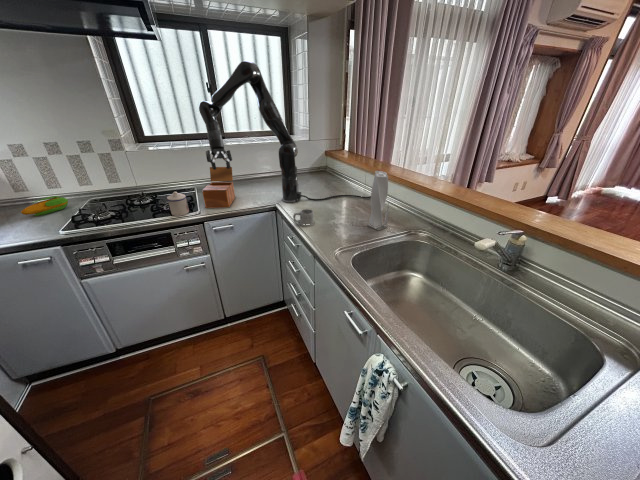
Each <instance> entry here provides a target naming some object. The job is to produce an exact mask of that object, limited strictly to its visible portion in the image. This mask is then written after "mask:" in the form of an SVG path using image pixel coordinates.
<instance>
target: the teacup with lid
mask: <svg viewBox="0 0 640 480" xmlns="http://www.w3.org/2000/svg"><path fill="white" fill-rule="evenodd" d="M166 200H167V202H168V207H169V210H170V213H171V215H172V216H175V217H180V216H185V215H187V214H189V212H190V208H189V205H188V200H187V196H186V195H185V194H184V193H179V192H177V191H173V192H172V194H170V195H169V196H167V197H166Z"/></svg>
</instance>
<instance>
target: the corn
mask: <svg viewBox="0 0 640 480" xmlns="http://www.w3.org/2000/svg"><path fill="white" fill-rule="evenodd" d="M68 205H69V199H68V198H66V197H64V196H59V195H54V196H48V197H47V196H46V197H43V198H40V199H37V200H35V201H32V202H31V205H27V206H26V207H25V208H23V209H22V210H21V212H20V214H22V215H24V216H28V215H33V217H40V216H45V215H49V214H52V213H55V212H58V211H61V210H64V209H65V208H66V207H67V206H68Z"/></svg>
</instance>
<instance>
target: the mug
mask: <svg viewBox="0 0 640 480" xmlns="http://www.w3.org/2000/svg"><path fill="white" fill-rule="evenodd" d="M314 213H315V212H314V209H310V208H303V209H300V211H299V212H295V213H293V215H292V216H293V217H292V219H293V222H294V223H298V224H299V225H300V226H301V227H304V228H305V227H306V228H308V227H312V226H314V215H315V214H314ZM296 216H299V219H296ZM312 223H313V224H312ZM303 224H305V225H303ZM306 224H310V225H306Z"/></svg>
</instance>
